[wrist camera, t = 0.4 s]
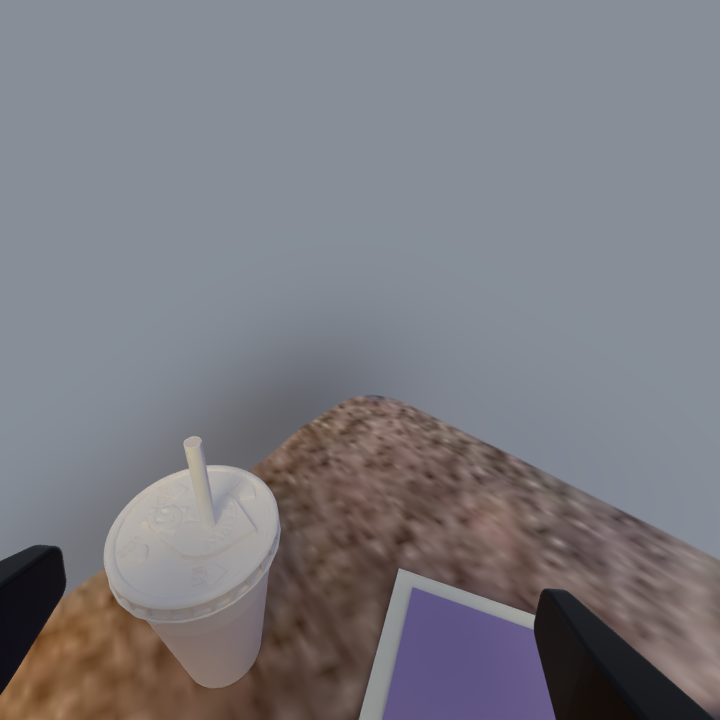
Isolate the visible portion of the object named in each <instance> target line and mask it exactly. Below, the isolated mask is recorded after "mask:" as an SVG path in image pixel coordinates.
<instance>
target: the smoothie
mask: <svg viewBox="0 0 720 720" xmlns="http://www.w3.org/2000/svg"><path fill="white" fill-rule="evenodd" d="M184 448H185V452H186V457H187V461H188V466H189V469H185V470H182V471H179V472H176V473H174V474H171V475H168V476H167V477H165V478H162V479H160V480H159V481H157V482H155V483H153V484H152V485H150V486H149V487H147V488H146V489H144V490H143V491H142V492H141V493H139V494H138V495H137V496H136V497H135V498H134V499H133V500H131V501H130V502H129V503H128V505H127V506H126V507H125V508H124V509H123V510H122V512H121V513H120V514H119V516H118V517H117V518H116V520H115V522H114V524H113V525H112V527H111V529H110V531H109V534H108V536H107V540H106V543H105V548H104V567H105V571H106V574H107V577H108V580H109V587H110V589H111V591H112V593H113V594H114V596H115V598H116V600H117V602H118V604H119V605H121V606H122V607H123V608H124V609H126V610H127V611H128V612H130V613H131V614H132V615H133V616H135V617H137V618H140V619H143V620H146V621H147V622H148V623H149V624H150V625H151V627H152V628H153V629H154V631H155V632H156V633H157V634H158V636H159V637H160V638H161V639H162V641H163V642H164V643H165V645H166V646H167V647H168V648H169V650H170V651H171V652H172V653H173V655H174V656H175V657H176V659H177V660H178V661H179V662H180V664H181V665H182V666H183V667H184V669H185V670H186V671H187V672H188V674H189V675H190V676H191V678H192V679H193V680H194V681H195V682H196V683H198V684H199V685H201V686H203V687H207V688H222V687H226V686H228V685H231V684H233V683H234V682H236V681H238V680H239V679H240V678H242V677H243V676H244V675H245V674H246V673H247V672H248V671H249V670H250V668H251V667H252V665H253V664H254V662H255V660H256V658H257V656H258V653H259V650H260V646H261V638H262V629H263V620H264V611H265V603H266V594H267V585H268V576H269V569H270V566H271V564H272V561H273V559H274V557H275V555H276V552H277V550H278V546H279V539H280V533H281V527H280V521H279V514H278V508H277V503H276V500H275V497H274V495H273V493H272V492H271V490H270V489H269V487H268V486H267V485H266V484H265V483H264V482H263V481H262V480H261V479H259V478H258V477H257V476H255V475H253V474H252V473H250V472H248V471H245V470H243V469H240V468H236V467H231V466H223V465H208V466H206V462H205V457H204V452H203V446H202V441H201V439H200V438H199V437H190V438H188V439H186V440H185V441H184Z"/></svg>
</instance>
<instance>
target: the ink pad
mask: <svg viewBox="0 0 720 720" xmlns="http://www.w3.org/2000/svg"><path fill="white" fill-rule="evenodd" d="M535 616H536V615H533V614H530V613H527V612H524V611H521V610H518V609H515V608H513V607H510V606H507V605H504V604H501V603H498V602H495V601H492V600H489V599H487V598H484V597H481V596H478V595H475V594H472V593H469V592H466V591H463V590H461V589H458V588H455V587H452V586H449V585H446V584H443V583H440V582H437V581H435V580H432V579H429V578H426V577H423V576H420V575H417V574H414V573H411V572H409V571H406V570H403V569H400V568H399V570H398V574H397V578H396V581H395V585H394V589H393V593H392V596H391V600H390V604H389V608H388V611H387V615H386V619H385V623H384V627H383V630H382V634H381V638H380V642H379V645H378V649H377V653H376V657H375V660H374V664H373V668H372V672H371V675H370V679H369V683H368V687H367V690H366V694H365V698H364V702H363V706H362V709H361V713H360V717H359V720H556V719H555V715H554V711H553V707H552V703H551V700H550V696H549V692H548V688H547V684H546V680H545V676H544V672H543V668H542V664H541V660H540V656H539V653H538V649H537V645H536V641H535V636H534V620H535Z"/></svg>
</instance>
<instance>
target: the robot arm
mask: <svg viewBox="0 0 720 720" xmlns="http://www.w3.org/2000/svg"><path fill="white" fill-rule="evenodd" d="M65 587H66V574H65V568H64V561H63V555H62V551H61V549H60V548H59V547H57V546H48V545H35V546H32V547H29V548H27V549H25V550H23V551H21V552H19V553H17V554H15V555H12V556H11V557H8V558H6V559H4V560H2V561H0V695H1V693H2V692H3V691H4V689H5V688H6V686H7V685H8V683H9V682H10V680H11V679H12V677H13V675H14V674H15V672H16V671H17V669H18V668H19V666H20V664H21V663H22V661H23V659H24V658H25V656H26V655H27V653H28V651H29V650H30V648H31V646H32V645H33V643H34V642H35V640H36V638H37V637H38V635H39V633H40V632H41V630H42V629H43V627H44V625H45V624H46V622H47V620H48V619H49V617H50V615H51V614H52V612H53V611H54V609H55V607H56V606H57V604H58V602H59V601H60V599H61V598H62V596H63V593H64V591H65ZM534 636H535V641H536V645H537V649H538V653H539V656H540V660H541V664H542V668H543V672H544V676H545V680H546V684H547V688H548V692H549V696H550V700H551V703H552V707H553V711H554V715H555V719H556V720H715V719H714V718H713V717H712V716H711V715H710V714H708V713H707V712H706V711H705V710H704V709H703V708H702V707H700V706H699V705H698V704H697V703H696V702H695V701H694V700H692V699H691V698H690V697H689V696H688V695H687V694H685V693H684V692H683V691H682V690H681V689H680V688H679V687H677V686H676V685H675V684H674V683H673V682H672V681H671V680H669V679H668V678H667V677H666V676H665V675H664V674H662V673H661V672H660V671H659V670H658V669H657V668H656V667H654V666H653V665H652V664H651V663H650V662H649V661H648V660H646V659H645V658H644V657H643V656H642V655H641V654H639V653H638V652H637V651H636V650H635V649H634V648H633V647H631V646H630V645H629V644H628V643H627V642H626V641H625V640H623V639H622V638H621V637H620V636H619V635H618V634H616V633H615V632H614V631H613V630H612V629H611V628H610V627H608V626H607V625H606V624H605V623H604V622H603V621H602V620H600V619H599V618H598V617H597V616H596V615H595V614H594V613H592V612H591V611H590V610H589V609H588V608H587V607H585V606H584V605H583V604H582V603H581V602H580V601H579V600H577V599H576V598H575V597H574V596H573V595H572V594H570V593H569V592H568V591H565V590H560V589H548V588H547V589H544V590H543V591H542V592H541V595H540V599H539V603H538V607H537V611H536V616H535V620H534Z"/></svg>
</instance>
